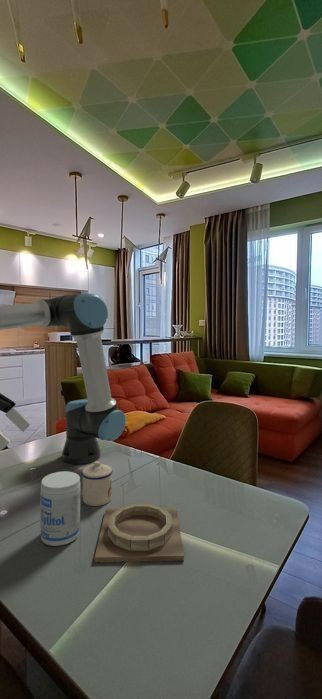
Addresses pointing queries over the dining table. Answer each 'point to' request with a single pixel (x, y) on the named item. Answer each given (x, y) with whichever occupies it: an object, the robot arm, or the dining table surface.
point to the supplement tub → (60, 508)
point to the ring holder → (140, 534)
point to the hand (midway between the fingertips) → (17, 436)
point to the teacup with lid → (97, 484)
